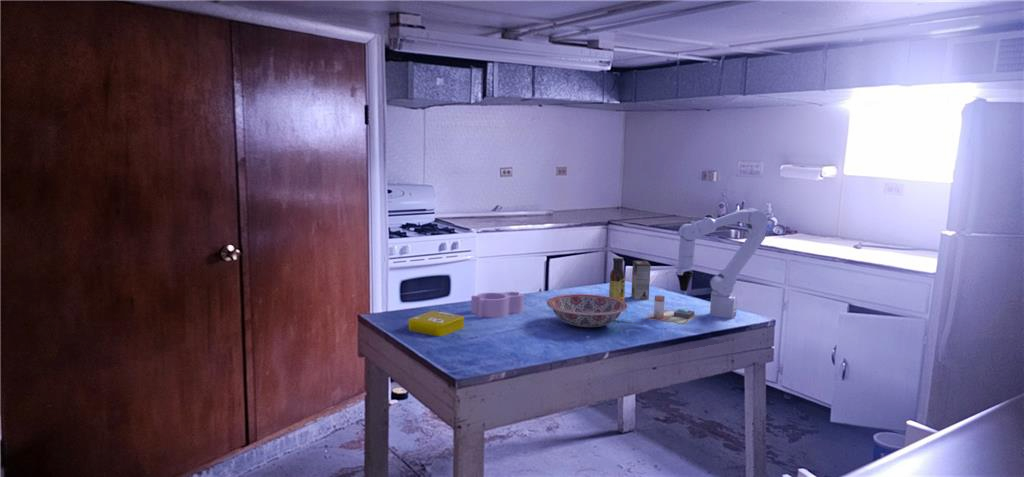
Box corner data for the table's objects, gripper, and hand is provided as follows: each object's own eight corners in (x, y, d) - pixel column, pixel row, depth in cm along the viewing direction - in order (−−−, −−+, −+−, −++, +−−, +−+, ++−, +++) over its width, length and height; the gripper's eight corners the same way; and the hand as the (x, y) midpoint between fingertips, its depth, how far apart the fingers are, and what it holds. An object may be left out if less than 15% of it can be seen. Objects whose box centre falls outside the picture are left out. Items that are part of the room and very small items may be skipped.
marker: (664, 316, 249) (665, 296, 248) (662, 318, 246) (662, 297, 245) (655, 315, 251) (656, 294, 250) (652, 317, 248) (653, 296, 247)
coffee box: (630, 296, 286) (632, 260, 283) (645, 297, 285) (647, 260, 283) (634, 301, 276) (635, 264, 274) (649, 302, 276) (651, 264, 274)
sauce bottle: (623, 308, 266) (625, 259, 263) (608, 307, 267) (610, 258, 264) (624, 304, 272) (626, 256, 269) (609, 303, 273) (611, 255, 270)
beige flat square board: (697, 317, 253) (697, 314, 253) (684, 327, 239) (684, 324, 239) (659, 311, 261) (659, 309, 260) (645, 320, 247) (645, 317, 247)
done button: (689, 315, 252) (689, 309, 252) (686, 316, 249) (687, 311, 249) (681, 313, 254) (681, 308, 253) (678, 315, 251) (678, 310, 251)
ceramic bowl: (630, 318, 251) (631, 297, 250) (621, 339, 223) (622, 316, 222) (555, 311, 258) (555, 291, 257) (537, 331, 231) (538, 309, 230)
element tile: (466, 327, 236) (466, 314, 235) (440, 338, 223) (440, 324, 222) (432, 321, 243) (432, 308, 242) (406, 331, 230) (406, 317, 230)
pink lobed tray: (513, 306, 266) (513, 289, 265) (528, 314, 255) (529, 296, 254) (468, 312, 256) (468, 294, 255) (482, 319, 245) (482, 301, 244)
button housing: (694, 315, 252) (694, 311, 252) (689, 318, 247) (689, 314, 247) (678, 312, 256) (678, 308, 255) (673, 316, 250) (673, 312, 250)
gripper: (681, 252, 259) (678, 285, 261) (670, 256, 247) (667, 292, 249) (699, 254, 255) (696, 288, 257) (689, 259, 243) (686, 295, 245)
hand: (683, 290), depth 253 cm, fingers closed
